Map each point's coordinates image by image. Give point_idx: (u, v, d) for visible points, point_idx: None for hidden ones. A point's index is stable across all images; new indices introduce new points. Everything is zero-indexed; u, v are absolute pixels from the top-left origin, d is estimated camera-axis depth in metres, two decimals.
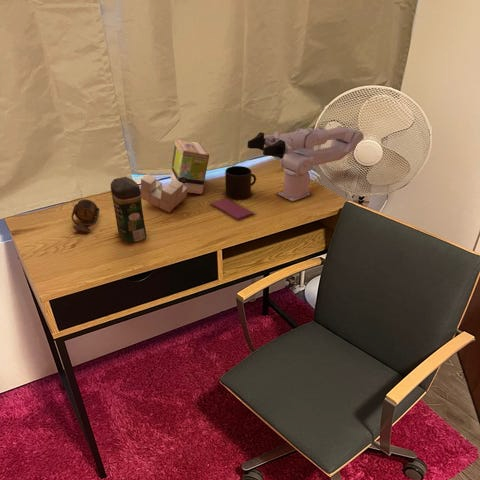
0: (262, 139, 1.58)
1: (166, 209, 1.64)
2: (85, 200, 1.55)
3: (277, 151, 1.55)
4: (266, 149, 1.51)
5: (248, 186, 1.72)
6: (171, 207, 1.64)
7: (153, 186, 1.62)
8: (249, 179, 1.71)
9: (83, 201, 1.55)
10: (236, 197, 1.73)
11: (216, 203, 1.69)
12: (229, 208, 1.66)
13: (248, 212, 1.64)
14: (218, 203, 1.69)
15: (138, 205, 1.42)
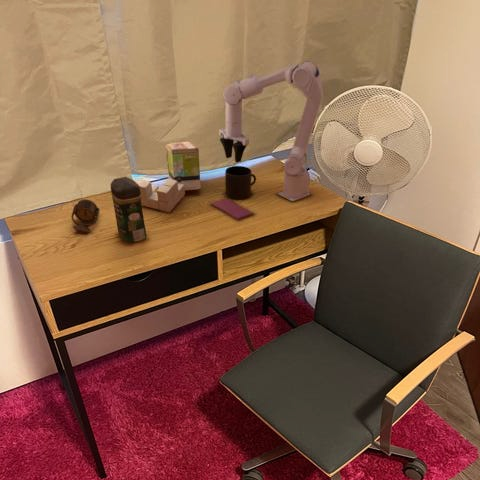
0: (227, 141, 1.73)
1: (166, 209, 1.64)
2: (85, 200, 1.55)
3: (240, 146, 1.71)
4: (237, 160, 1.73)
5: (248, 186, 1.72)
6: (170, 206, 1.64)
7: (149, 190, 1.64)
8: (249, 179, 1.71)
9: (83, 201, 1.55)
10: (236, 197, 1.73)
11: (216, 203, 1.69)
12: (229, 208, 1.66)
13: (248, 212, 1.64)
14: (218, 203, 1.69)
15: (138, 205, 1.42)
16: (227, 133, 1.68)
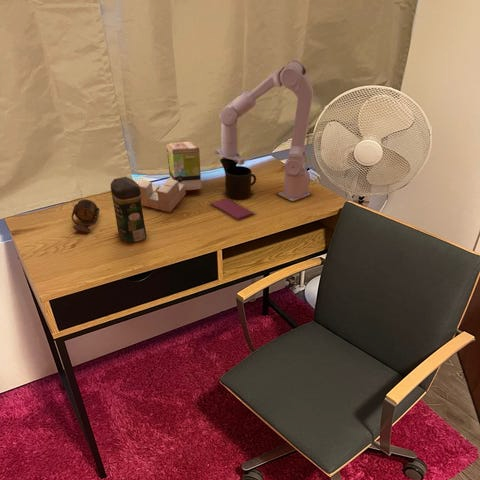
0: None
1: (166, 209, 1.64)
2: (85, 200, 1.55)
3: (231, 163, 1.75)
4: None
5: (248, 186, 1.72)
6: (171, 206, 1.64)
7: (149, 190, 1.64)
8: (249, 179, 1.71)
9: (83, 201, 1.55)
10: (236, 197, 1.73)
11: (216, 203, 1.69)
12: (229, 208, 1.66)
13: (248, 212, 1.64)
14: (218, 203, 1.69)
15: (138, 205, 1.42)
16: (223, 152, 1.71)
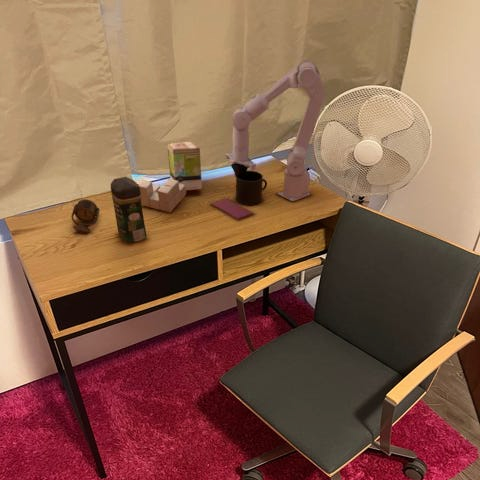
0: None
1: (166, 209, 1.64)
2: (85, 200, 1.55)
3: (242, 168, 1.72)
4: None
5: (259, 191, 1.69)
6: (171, 206, 1.64)
7: (150, 190, 1.64)
8: (260, 184, 1.67)
9: (83, 201, 1.55)
10: (247, 203, 1.69)
11: (216, 203, 1.69)
12: (229, 208, 1.66)
13: (248, 212, 1.64)
14: (218, 203, 1.69)
15: (138, 205, 1.42)
16: (234, 157, 1.68)
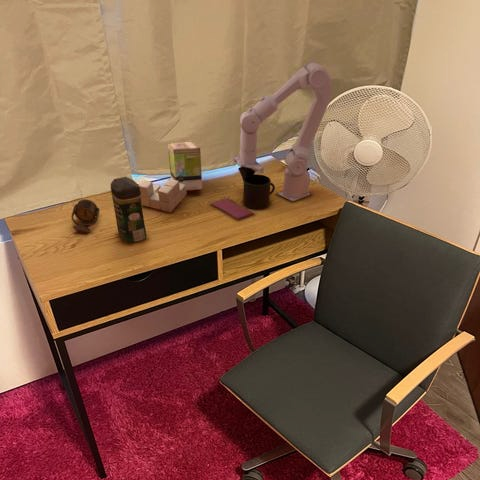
0: None
1: (167, 209, 1.64)
2: (85, 200, 1.55)
3: (249, 171, 1.69)
4: None
5: (267, 195, 1.66)
6: (171, 206, 1.64)
7: (150, 190, 1.64)
8: (268, 188, 1.65)
9: (83, 201, 1.55)
10: (255, 207, 1.67)
11: (216, 203, 1.69)
12: (229, 208, 1.66)
13: (248, 212, 1.64)
14: (218, 203, 1.69)
15: (138, 205, 1.42)
16: (241, 161, 1.65)
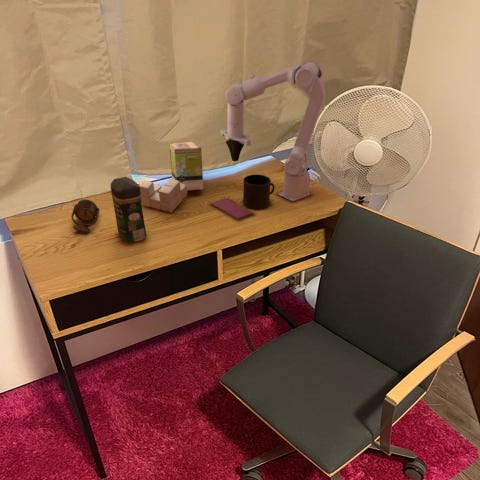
0: None
1: (168, 209, 1.64)
2: (85, 200, 1.55)
3: (238, 145, 1.72)
4: (235, 159, 1.74)
5: (267, 195, 1.66)
6: (172, 207, 1.64)
7: (151, 190, 1.63)
8: (268, 188, 1.65)
9: (83, 201, 1.55)
10: (255, 207, 1.67)
11: (216, 203, 1.69)
12: (229, 208, 1.66)
13: (248, 212, 1.64)
14: (218, 203, 1.69)
15: (138, 205, 1.42)
16: (229, 134, 1.68)
